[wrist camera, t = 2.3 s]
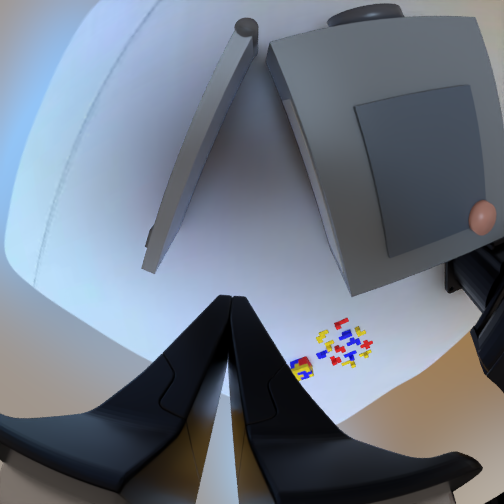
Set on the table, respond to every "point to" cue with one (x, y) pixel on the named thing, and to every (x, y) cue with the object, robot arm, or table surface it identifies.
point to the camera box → (396, 138)
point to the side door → (201, 139)
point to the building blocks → (304, 367)
